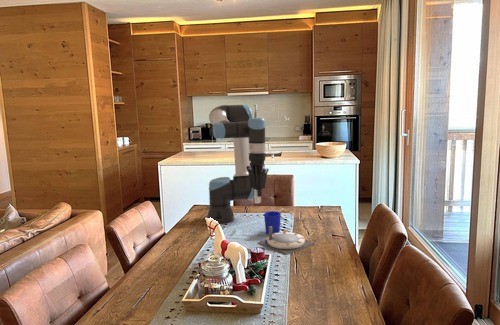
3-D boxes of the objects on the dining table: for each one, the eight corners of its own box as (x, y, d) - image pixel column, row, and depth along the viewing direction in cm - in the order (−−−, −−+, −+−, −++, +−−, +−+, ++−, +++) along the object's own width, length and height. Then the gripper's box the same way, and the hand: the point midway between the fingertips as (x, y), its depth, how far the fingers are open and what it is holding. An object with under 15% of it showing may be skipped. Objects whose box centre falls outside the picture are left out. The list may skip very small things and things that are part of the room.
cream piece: (259, 241, 173) (259, 225, 172) (285, 233, 184) (285, 217, 183) (286, 252, 161) (286, 234, 159) (312, 242, 171) (312, 225, 170)
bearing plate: (258, 243, 174) (258, 237, 173) (285, 234, 185) (285, 228, 185) (286, 254, 160) (286, 247, 160) (314, 244, 172) (314, 237, 171)
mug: (281, 228, 195) (281, 209, 193) (280, 236, 183) (280, 216, 181) (265, 227, 195) (265, 209, 194) (263, 235, 184) (263, 215, 182)
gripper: (241, 151, 173) (242, 201, 177) (260, 154, 163) (261, 207, 167) (253, 150, 178) (254, 199, 181) (273, 152, 168) (273, 204, 172)
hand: (257, 202), depth 174 cm, fingers closed
